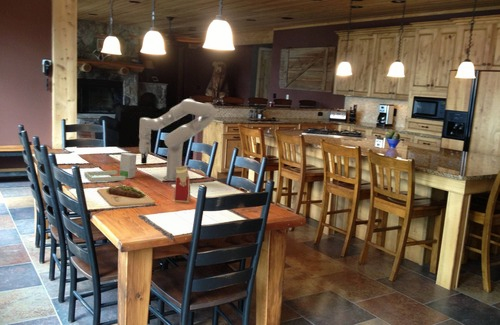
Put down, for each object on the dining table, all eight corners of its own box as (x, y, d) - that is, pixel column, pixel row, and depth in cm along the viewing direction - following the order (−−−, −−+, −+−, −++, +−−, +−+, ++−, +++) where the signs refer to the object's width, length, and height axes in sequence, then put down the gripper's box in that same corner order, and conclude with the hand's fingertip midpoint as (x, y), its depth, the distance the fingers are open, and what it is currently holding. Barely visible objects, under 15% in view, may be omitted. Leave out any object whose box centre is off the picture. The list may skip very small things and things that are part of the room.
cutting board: (96, 191, 264) (96, 178, 263) (136, 189, 276) (136, 177, 275) (111, 208, 235) (112, 194, 234) (155, 205, 247) (156, 191, 246)
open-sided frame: (125, 180, 295) (125, 176, 295) (91, 181, 284) (91, 177, 283) (116, 174, 310) (116, 170, 309) (84, 175, 298) (84, 171, 298)
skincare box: (119, 176, 304) (119, 153, 301) (126, 175, 310) (127, 152, 307) (128, 178, 300) (129, 155, 297) (135, 177, 306) (136, 153, 303)
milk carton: (190, 198, 263) (192, 164, 260) (188, 202, 254) (190, 167, 251) (174, 197, 263) (175, 162, 259) (171, 201, 254) (173, 165, 250)
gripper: (154, 138, 302) (153, 165, 305) (146, 134, 314) (145, 161, 317) (143, 138, 298) (142, 165, 301) (135, 134, 310) (134, 161, 313)
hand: (143, 163), depth 309 cm, fingers closed
